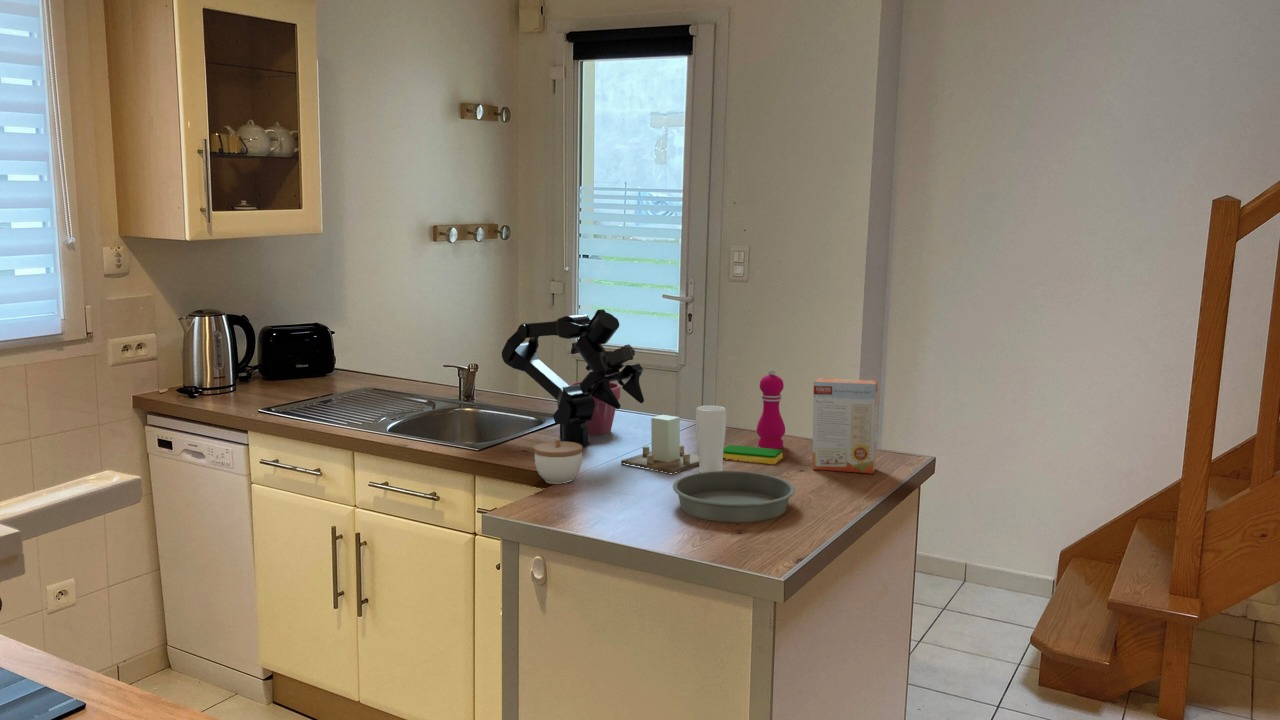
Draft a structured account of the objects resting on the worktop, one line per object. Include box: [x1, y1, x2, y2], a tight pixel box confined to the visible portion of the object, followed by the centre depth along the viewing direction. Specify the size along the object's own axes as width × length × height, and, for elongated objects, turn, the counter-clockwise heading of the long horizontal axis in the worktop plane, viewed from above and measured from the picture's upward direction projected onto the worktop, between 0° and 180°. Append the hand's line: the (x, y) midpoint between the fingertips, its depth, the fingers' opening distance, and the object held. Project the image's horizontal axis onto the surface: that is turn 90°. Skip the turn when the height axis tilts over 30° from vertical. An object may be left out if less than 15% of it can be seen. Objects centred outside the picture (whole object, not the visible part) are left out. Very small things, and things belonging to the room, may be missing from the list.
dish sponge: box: [723, 444, 784, 465], centre depth 242 cm, size 7×14×2 cm, turn 66°
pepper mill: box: [755, 368, 786, 450], centre depth 252 cm, size 7×7×20 cm
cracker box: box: [811, 377, 879, 474], centre depth 229 cm, size 14×6×21 cm, turn 71°
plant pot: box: [568, 381, 621, 436], centre depth 271 cm, size 14×14×13 cm
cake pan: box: [672, 470, 796, 523], centre depth 202 cm, size 25×25×4 cm
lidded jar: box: [533, 438, 584, 485], centre depth 221 cm, size 11×11×9 cm
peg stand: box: [620, 444, 699, 475], centre depth 237 cm, size 15×15×3 cm
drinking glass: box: [695, 404, 727, 473], centre depth 227 cm, size 7×7×15 cm
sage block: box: [650, 414, 681, 462], centre depth 236 cm, size 5×4×10 cm
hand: (631, 405), depth 241 cm, fingers open, 9 cm apart
